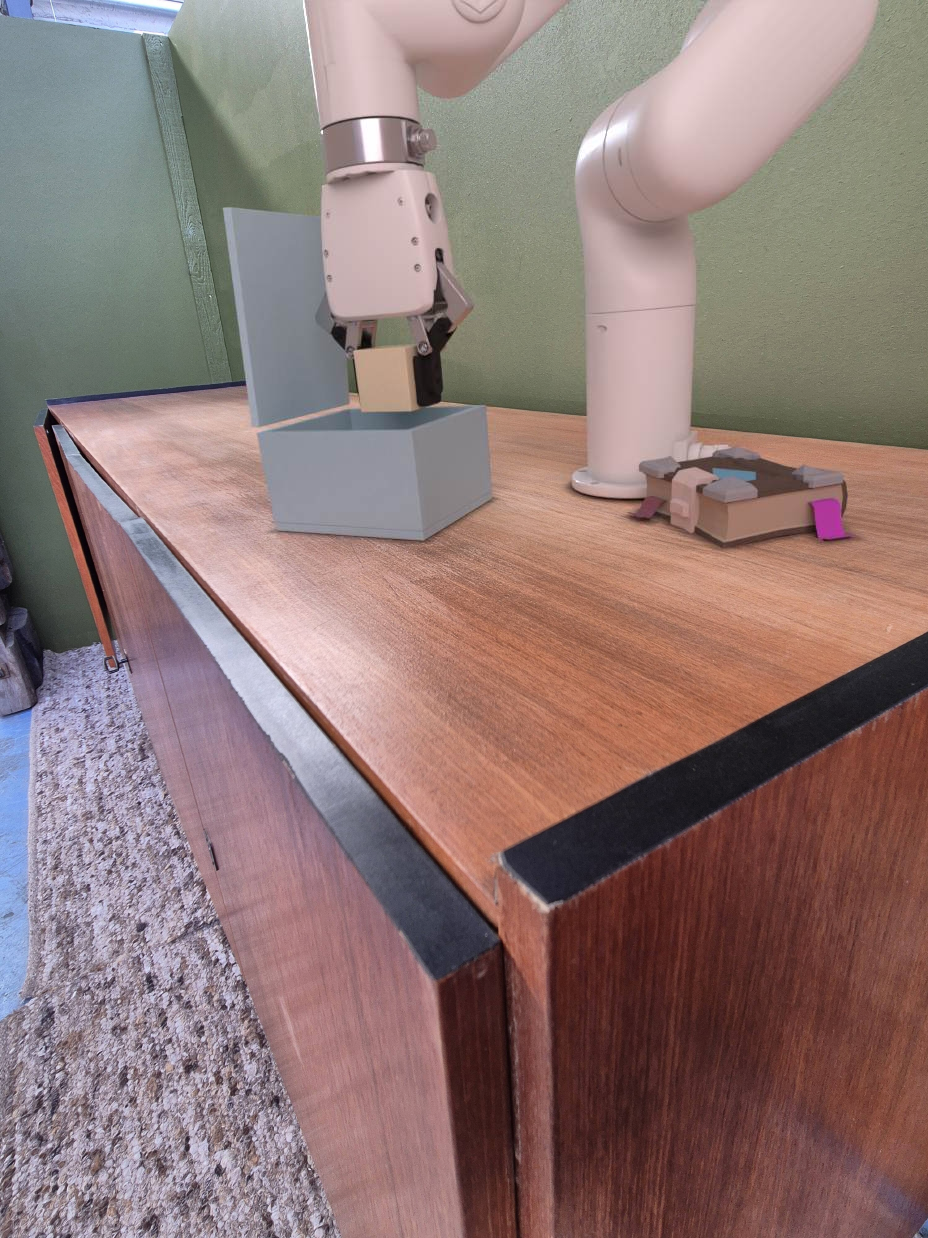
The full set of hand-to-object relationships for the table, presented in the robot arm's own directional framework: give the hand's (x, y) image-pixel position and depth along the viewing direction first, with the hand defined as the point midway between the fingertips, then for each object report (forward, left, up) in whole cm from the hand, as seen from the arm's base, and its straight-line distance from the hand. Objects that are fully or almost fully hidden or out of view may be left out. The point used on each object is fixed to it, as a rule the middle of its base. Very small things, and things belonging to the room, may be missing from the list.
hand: (400, 402), depth 62 cm
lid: (+10, 0, +7) cm, 12 cm away
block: (0, 0, 0) cm, 0 cm away
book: (-26, -4, -11) cm, 28 cm away
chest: (+3, 0, -10) cm, 11 cm away
